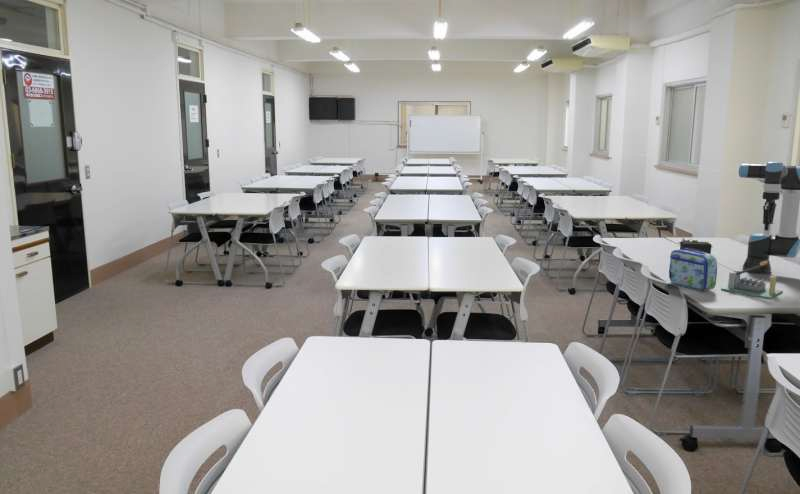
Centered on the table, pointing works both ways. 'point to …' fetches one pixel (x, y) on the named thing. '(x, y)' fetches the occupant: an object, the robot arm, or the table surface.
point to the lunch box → (693, 269)
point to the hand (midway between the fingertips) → (766, 236)
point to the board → (767, 293)
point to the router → (696, 246)
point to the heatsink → (751, 285)
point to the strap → (754, 267)
